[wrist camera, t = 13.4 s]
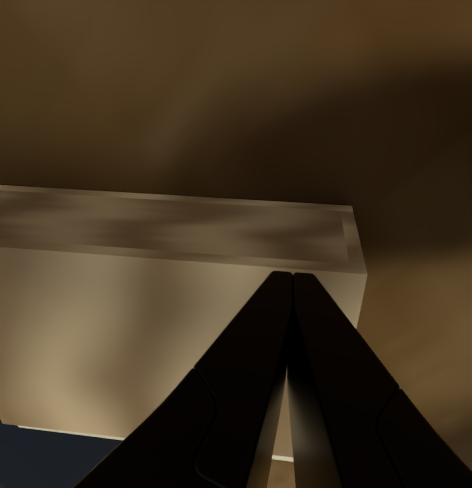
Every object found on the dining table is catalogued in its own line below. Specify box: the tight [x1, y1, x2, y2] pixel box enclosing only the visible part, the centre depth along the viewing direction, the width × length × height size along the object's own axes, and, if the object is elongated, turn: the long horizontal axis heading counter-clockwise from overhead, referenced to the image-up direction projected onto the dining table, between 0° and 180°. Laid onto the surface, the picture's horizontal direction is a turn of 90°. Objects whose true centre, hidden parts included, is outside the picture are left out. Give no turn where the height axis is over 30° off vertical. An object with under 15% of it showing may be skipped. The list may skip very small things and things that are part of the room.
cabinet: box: [0, 185, 368, 457], centre depth 23 cm, size 18×12×6 cm, turn 90°
